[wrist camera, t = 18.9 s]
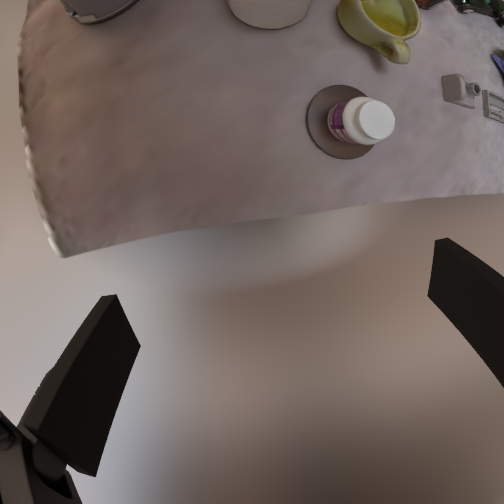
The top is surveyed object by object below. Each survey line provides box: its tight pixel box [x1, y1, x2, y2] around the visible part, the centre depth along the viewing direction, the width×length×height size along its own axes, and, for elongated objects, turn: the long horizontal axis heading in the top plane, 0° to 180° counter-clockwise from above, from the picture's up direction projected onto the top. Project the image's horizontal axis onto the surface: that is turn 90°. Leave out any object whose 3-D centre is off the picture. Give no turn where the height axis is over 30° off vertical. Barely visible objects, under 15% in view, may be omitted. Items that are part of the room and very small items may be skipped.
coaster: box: [307, 85, 374, 159], centre depth 31 cm, size 10×10×1 cm
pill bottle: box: [328, 97, 395, 145], centre depth 26 cm, size 5×5×10 cm
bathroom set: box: [442, 74, 504, 123], centre depth 26 cm, size 25×5×5 cm, turn 94°
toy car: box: [454, 0, 504, 27], centre depth 16 cm, size 9×20×5 cm, turn 108°
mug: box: [338, 0, 421, 64], centre depth 22 cm, size 12×10×10 cm
